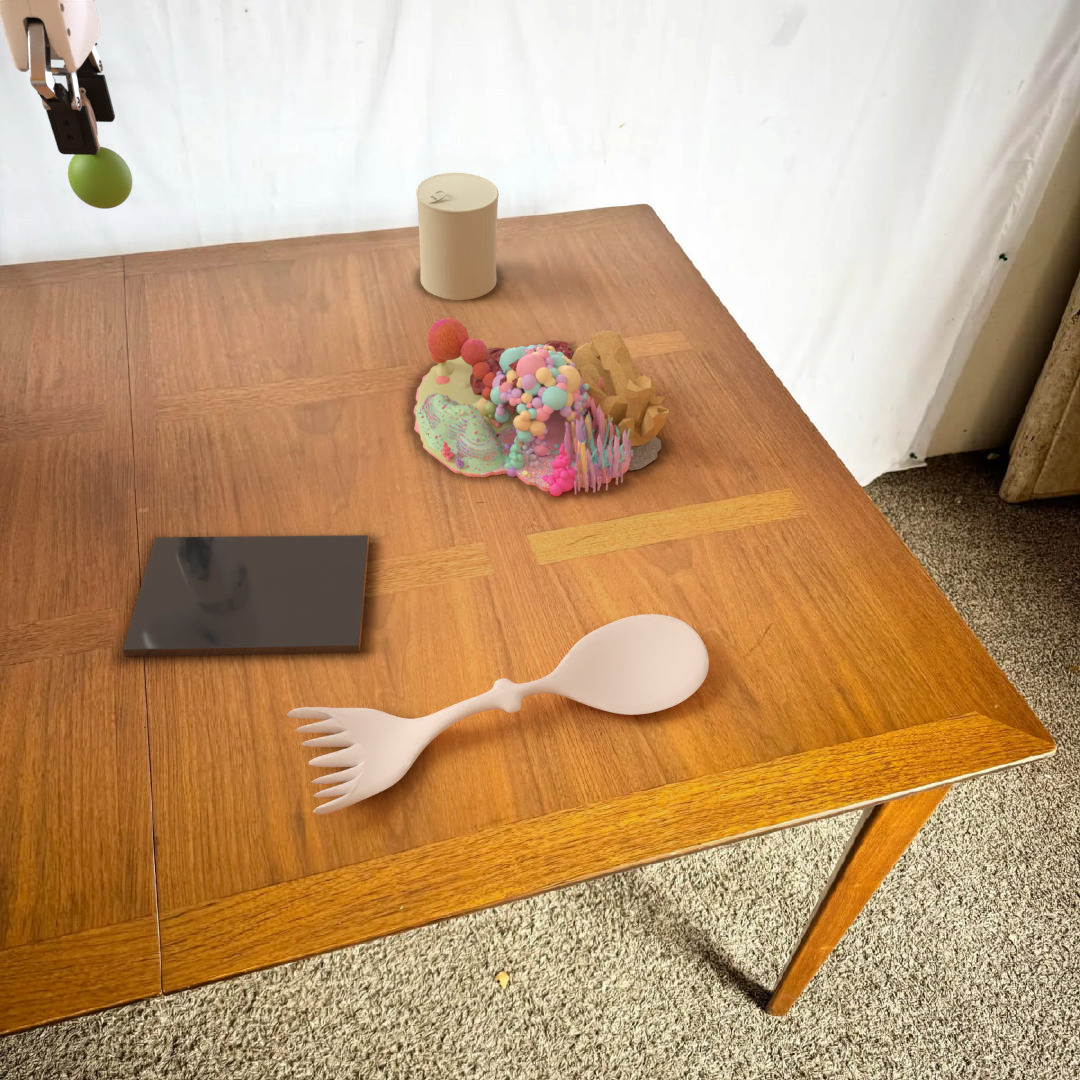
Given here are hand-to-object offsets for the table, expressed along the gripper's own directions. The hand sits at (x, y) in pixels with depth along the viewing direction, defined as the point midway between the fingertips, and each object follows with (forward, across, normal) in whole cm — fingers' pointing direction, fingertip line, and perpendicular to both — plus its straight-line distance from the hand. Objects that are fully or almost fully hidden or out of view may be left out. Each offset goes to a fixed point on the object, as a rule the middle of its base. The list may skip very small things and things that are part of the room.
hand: (88, 134), depth 86 cm
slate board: (+23, +35, +15) cm, 45 cm away
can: (+23, -13, +33) cm, 43 cm away
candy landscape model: (+23, +13, +41) cm, 48 cm away
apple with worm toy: (+7, 0, 0) cm, 7 cm away
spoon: (+23, +48, +36) cm, 64 cm away
